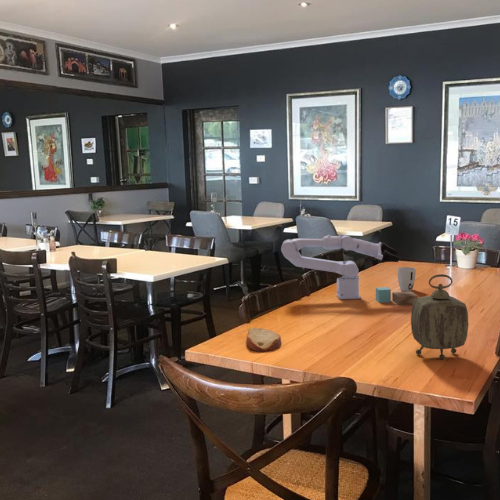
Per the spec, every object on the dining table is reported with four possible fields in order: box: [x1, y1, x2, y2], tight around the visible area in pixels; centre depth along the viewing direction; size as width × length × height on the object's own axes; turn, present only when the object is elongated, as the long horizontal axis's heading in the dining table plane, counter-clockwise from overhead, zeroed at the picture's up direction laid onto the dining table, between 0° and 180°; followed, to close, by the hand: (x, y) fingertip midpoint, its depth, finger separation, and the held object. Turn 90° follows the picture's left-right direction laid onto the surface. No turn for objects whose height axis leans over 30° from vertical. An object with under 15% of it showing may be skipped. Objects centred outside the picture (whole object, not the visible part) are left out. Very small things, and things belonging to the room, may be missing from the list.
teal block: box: [375, 286, 392, 304], centre depth 234 cm, size 5×5×6 cm
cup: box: [396, 266, 416, 292], centre depth 253 cm, size 8×8×10 cm
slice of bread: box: [245, 327, 282, 353], centre depth 184 cm, size 18×18×4 cm
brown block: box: [391, 291, 419, 306], centre depth 230 cm, size 8×8×4 cm
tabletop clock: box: [410, 273, 469, 361], centre depth 162 cm, size 14×9×25 cm, turn 92°
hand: (397, 256), depth 238 cm, fingers open, 7 cm apart
